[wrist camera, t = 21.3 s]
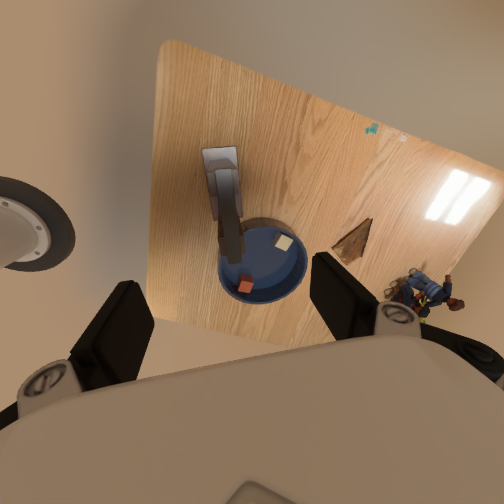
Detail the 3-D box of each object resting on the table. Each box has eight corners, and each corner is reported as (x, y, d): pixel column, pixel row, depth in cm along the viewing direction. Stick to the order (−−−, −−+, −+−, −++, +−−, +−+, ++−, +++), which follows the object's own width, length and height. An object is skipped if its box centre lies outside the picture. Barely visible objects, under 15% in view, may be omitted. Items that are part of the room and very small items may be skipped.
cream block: (271, 240, 46) (274, 246, 43) (278, 229, 45) (282, 234, 42) (282, 245, 47) (286, 251, 44) (289, 234, 46) (293, 239, 43)
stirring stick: (230, 166, 19) (231, 167, 18) (241, 256, 24) (242, 263, 23) (214, 167, 19) (213, 169, 18) (227, 258, 24) (228, 265, 23)
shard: (368, 216, 47) (373, 218, 46) (381, 237, 50) (386, 240, 49) (330, 246, 49) (334, 250, 48) (345, 265, 53) (349, 268, 51)
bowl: (224, 294, 52) (225, 310, 47) (211, 223, 42) (210, 233, 38) (297, 283, 53) (305, 297, 49) (300, 212, 44) (310, 221, 39)
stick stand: (213, 219, 42) (210, 271, 25) (201, 148, 36) (186, 152, 18) (242, 215, 43) (259, 264, 25) (235, 146, 36) (251, 146, 19)
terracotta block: (236, 283, 50) (237, 291, 47) (240, 273, 49) (241, 280, 46) (248, 285, 51) (249, 293, 48) (252, 275, 49) (254, 283, 47)
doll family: (399, 259, 55) (449, 290, 43) (427, 260, 56) (482, 290, 45) (367, 322, 65) (399, 361, 53) (391, 321, 67) (428, 359, 55)
